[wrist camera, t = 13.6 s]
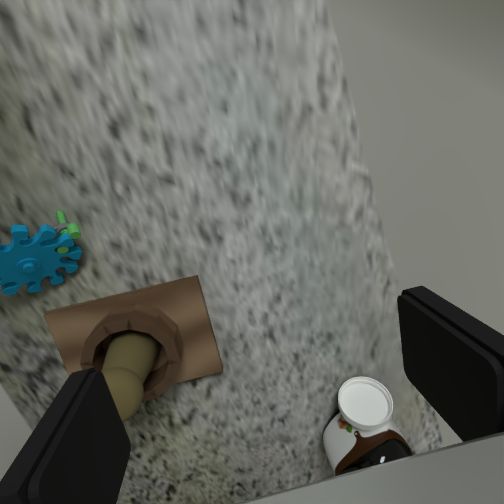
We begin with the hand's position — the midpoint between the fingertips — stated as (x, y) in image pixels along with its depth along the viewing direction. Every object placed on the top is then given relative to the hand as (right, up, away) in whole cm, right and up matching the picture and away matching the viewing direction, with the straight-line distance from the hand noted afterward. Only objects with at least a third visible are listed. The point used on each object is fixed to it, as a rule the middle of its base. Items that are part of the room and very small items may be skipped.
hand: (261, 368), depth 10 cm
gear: (-23, +4, +28) cm, 37 cm away
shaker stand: (-14, -7, +32) cm, 36 cm away
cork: (-14, -8, +31) cm, 35 cm away
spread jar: (+14, -19, +39) cm, 46 cm away
